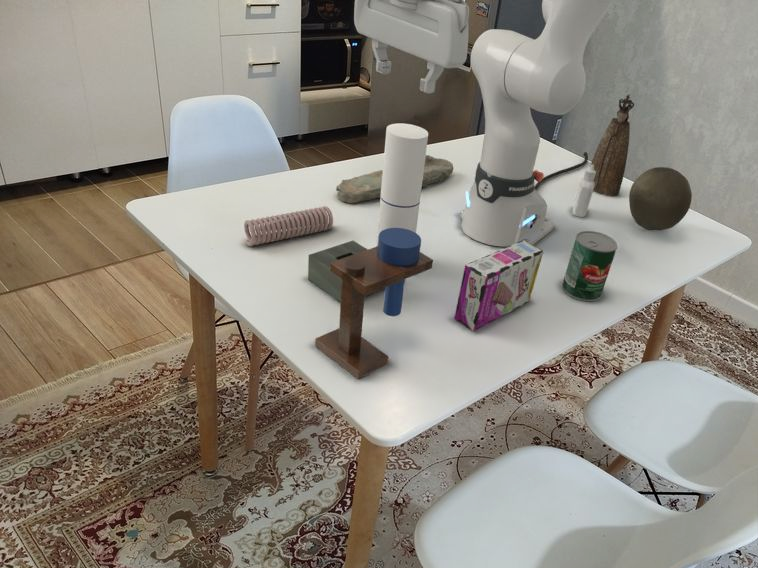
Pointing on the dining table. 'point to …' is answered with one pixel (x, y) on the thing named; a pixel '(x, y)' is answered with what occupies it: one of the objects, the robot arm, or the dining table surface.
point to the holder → (321, 267)
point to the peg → (397, 262)
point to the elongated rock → (372, 182)
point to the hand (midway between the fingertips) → (404, 82)
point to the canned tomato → (589, 265)
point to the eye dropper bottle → (584, 193)
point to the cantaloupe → (659, 198)
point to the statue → (613, 152)
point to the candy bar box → (497, 284)
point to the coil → (288, 225)
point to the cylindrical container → (402, 177)
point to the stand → (357, 281)
